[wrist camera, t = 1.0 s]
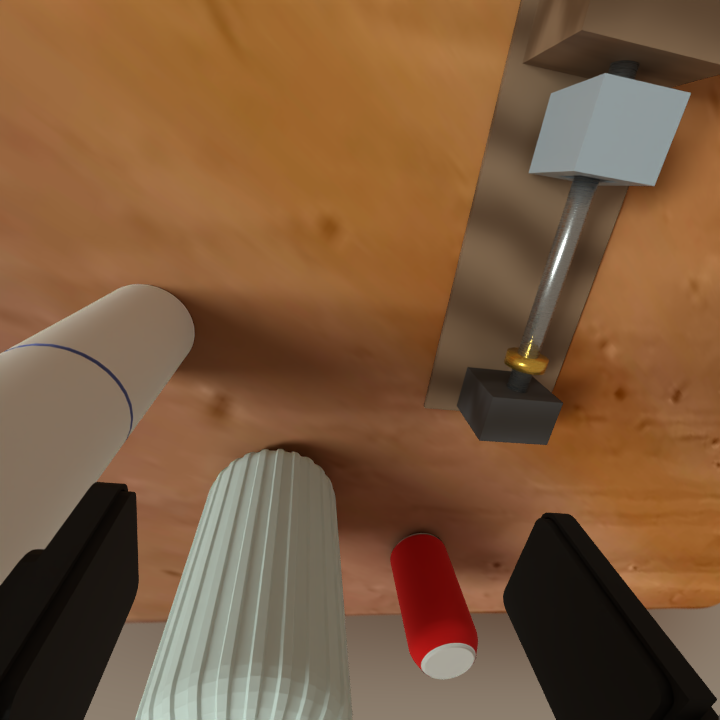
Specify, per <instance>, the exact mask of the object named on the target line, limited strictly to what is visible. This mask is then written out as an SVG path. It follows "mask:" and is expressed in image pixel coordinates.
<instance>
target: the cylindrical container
mask: <svg viewBox="0 0 720 720" xmlns="http://www.w3.org/2000/svg"><path fill="white" fill-rule="evenodd" d="M194 337H195V331H194V324H193V321H192V318H191V316H190V314H189V312H188V310H187V309H186V307H185V306H184V305H183V304H182V302H180V301H179V300H178V299H177V298H176V297H175V296H173V295H172V294H170V293H169V292H167V291H165V290H163V289H161V288H158V287H155V286H151V285H145V284H134V285H127V286H124V287H122V288H119V289H117V290H115V291H113V292H112V293H110V294H108V295H106V296H104V297H103V298H101V299H99V300H97V301H95V302H94V303H92V304H90V305H88V306H86V307H85V308H83V309H81V310H79V311H78V312H76V313H74V314H72V315H70V316H68V317H66V318H65V319H63V320H61V321H59V322H57V323H55V324H54V325H52V326H50V327H48V328H46V329H44V330H43V331H41V332H39V333H37V334H35V335H33V336H32V337H30V338H28V339H26V340H24V341H22V342H21V343H19V344H17V345H15V346H13V347H11V348H10V349H8V350H6V351H4V352H3V353H1V354H0V585H1V584H2V583H3V581H4V580H5V579H6V577H7V576H8V575H9V574H10V572H11V571H12V570H13V568H14V567H15V566H16V565H17V563H18V562H19V561H20V560H21V559H22V558H23V557H24V555H25V554H27V553H28V552H30V551H31V550H34V549H45V548H46V547H47V545H48V544H49V543H50V541H51V540H52V539H53V537H54V536H55V534H56V533H57V532H58V530H59V529H60V528H61V526H62V525H63V523H64V522H65V521H66V519H67V518H68V517H69V515H70V514H71V512H72V511H73V510H74V508H75V507H76V506H77V504H78V503H79V501H80V500H81V499H82V497H83V496H84V495H85V493H86V492H87V490H88V489H89V488H90V487H91V485H92V484H93V483H95V482H96V481H97V480H98V479H99V477H100V476H101V474H102V473H103V472H104V470H105V469H106V467H107V466H108V465H109V463H110V462H111V460H112V459H113V458H114V456H115V455H116V453H117V452H118V451H119V449H120V448H121V446H122V445H123V444H124V442H125V441H126V440H127V438H128V437H129V435H130V434H131V433H132V431H133V430H134V428H135V427H136V426H137V424H138V423H139V421H140V420H141V419H142V417H143V416H144V415H145V413H146V412H147V410H148V409H149V408H150V406H151V405H152V403H153V402H154V401H155V399H156V398H157V396H158V395H159V394H160V392H161V391H162V390H163V388H164V387H165V385H166V384H167V383H168V381H169V380H170V378H171V377H172V376H173V374H174V373H175V371H176V370H177V369H178V367H179V366H180V364H181V363H182V362H183V360H184V359H185V357H186V356H187V355H188V353H189V352H190V350H191V348H192V346H193V343H194Z"/></svg>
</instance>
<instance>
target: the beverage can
mask: <svg viewBox="0 0 720 720" xmlns="http://www.w3.org/2000/svg"><path fill="white" fill-rule="evenodd" d="M390 561H391V567H392V571H393V576H394V581H395V586H396V590H397V595H398V600H399V605H400V609H401V614H402V618H403V624H404V628H405V633H406V638H407V642H408V647H409V652H410V654H411V656H412V658H413V660H414V662H415V663H416V664H417V665H418V666H419V668H420V669H421V670H422V671H423V672H424V673H425V674H426V675H428V676H430V677H433V678H436V679H449V678H453V677H456V676H459V675H461V674H462V673H464V672H465V671H467V670H468V669H469V668H470V667H471V666H472V664H473V663H474V661H475V658H476V652H477V645H478V637H477V632H476V629H475V626H474V624H473V621H472V618H471V615H470V613H469V610H468V607H467V605H466V602H465V599H464V597H463V594H462V591H461V588H460V586H459V583H458V580H457V578H456V575H455V572H454V569H453V567H452V564H451V561H450V559H449V556H448V553H447V551H446V548H445V546H444V544H443V542H442V541H441V540H440V539H439V538H438V537H436V536H435V535H432V534H428V533H417V534H413V535H410V536H407V537H405V538H404V539H402V540H401V541H400V542H399V543H398V544H397V545H396V546H395V548H394V549H393V551H392V554H391V559H390Z"/></svg>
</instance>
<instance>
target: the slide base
mask: <svg viewBox="0 0 720 720" xmlns="http://www.w3.org/2000/svg"><path fill="white" fill-rule="evenodd" d="M621 60H629V61H635V62H638V63H639V64H640V65H639V68H638V71H637V74H636V77H635V80H638V81H642V82H646V83H650V84H655V85H659V86H663V87H668V88H671V87H674V86H678V85H682V84H686V83H689V82H693V81H697V80H701V79H704V78H708V77H712V76H716V75H720V0H521V2H520V7H519V11H518V15H517V19H516V23H515V27H514V32H513V36H512V40H511V44H510V48H509V52H508V57H507V61H506V65H505V69H504V73H503V77H502V82H501V86H500V90H499V94H498V98H497V102H496V107H495V111H494V115H493V119H492V123H491V128H490V132H489V136H488V140H487V144H486V148H485V153H484V157H483V161H482V165H481V169H480V173H479V178H478V182H477V186H476V190H475V194H474V198H473V203H472V207H471V211H470V215H469V219H468V223H467V228H466V232H465V236H464V240H463V244H462V248H461V253H460V257H459V261H458V265H457V269H456V274H455V278H454V282H453V286H452V290H451V294H450V299H449V303H448V307H447V311H446V315H445V319H444V324H443V328H442V332H441V336H440V340H439V344H438V349H437V353H436V357H435V361H434V365H433V369H432V374H431V378H430V382H429V386H428V390H427V394H426V399H425V403H424V407H425V408H430V409H443V410H456V411H460V412H461V413H462V415H463V416H464V418H465V419H466V421H467V422H468V424H469V425H470V427H471V428H472V430H473V431H474V433H475V435H476V436H477V438H478V439H479V441H495V442H510V443H525V444H540V445H547V443H548V441H549V438H550V435H551V433H552V430H553V428H554V425H555V423H556V420H557V418H558V415H559V412H560V410H561V407H562V405H563V402H561V401H560V400H559V399H558V398H557V397H556V396H555V395H553V394H552V391H553V388H554V385H555V383H556V380H557V377H558V375H559V372H560V369H561V367H562V364H563V361H564V359H565V356H566V353H567V351H568V348H569V345H570V343H571V340H572V337H573V334H574V332H575V329H576V326H577V324H578V321H579V318H580V316H581V313H582V310H583V308H584V305H585V302H586V300H587V297H588V294H589V292H590V289H591V286H592V284H593V281H594V278H595V275H596V273H597V270H598V267H599V265H600V262H601V259H602V257H603V254H604V251H605V249H606V246H607V243H608V241H609V238H610V235H611V233H612V230H613V227H614V225H615V222H616V219H617V216H618V214H619V211H620V208H621V206H622V203H623V200H624V198H625V195H626V192H627V190H628V187H629V186H598V187H597V190H596V192H595V195H594V198H593V201H592V204H591V207H590V210H589V213H588V216H587V219H586V221H585V224H584V227H583V230H582V233H581V236H580V239H579V242H578V245H577V247H576V250H575V253H574V256H573V259H572V262H571V265H570V268H569V271H568V273H567V276H566V279H565V282H564V285H563V288H562V291H561V294H560V297H559V299H558V302H557V305H556V308H555V311H554V314H553V317H552V320H551V323H550V326H549V328H548V331H547V334H546V337H545V340H544V343H543V346H542V349H541V352H540V354H542V355H544V356H545V357H547V358H548V359H549V362H548V365H547V368H546V371H545V373H544V374H542V375H532V378H531V380H530V383H529V386H528V389H527V392H526V393H519V392H515V391H512V390H511V389H509V388H508V387H507V383H508V380H509V377H510V374H511V371H512V368H510V367H508V366H507V365H506V364H505V363H504V359H505V356H506V353H507V349H508V348H512V347H517V348H519V346H520V343H521V340H522V337H523V334H524V331H525V328H526V325H527V321H528V318H529V315H530V312H531V309H532V306H533V303H534V300H535V297H536V294H537V290H538V287H539V284H540V281H541V278H542V275H543V272H544V269H545V266H546V263H547V259H548V256H549V253H550V250H551V247H552V244H553V241H554V238H555V235H556V232H557V228H558V225H559V222H560V219H561V216H562V213H563V210H564V207H565V204H566V201H567V197H568V194H569V191H570V188H571V185H572V182H573V181H569V180H564V179H558V178H553V177H547V176H542V175H536V174H531V173H529V170H530V166H531V163H532V159H533V155H534V152H535V148H536V145H537V141H538V138H539V134H540V131H541V127H542V124H543V120H544V116H545V113H546V109H547V106H548V102H549V99H550V95H551V93H553V92H556V91H559V90H561V89H564V88H567V87H569V86H572V85H575V84H577V83H580V82H583V81H585V80H588V79H591V78H593V77H596V76H599V75H601V74H604V73H608V70H609V67H610V64H611V63H612V62H615V61H621Z"/></svg>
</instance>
